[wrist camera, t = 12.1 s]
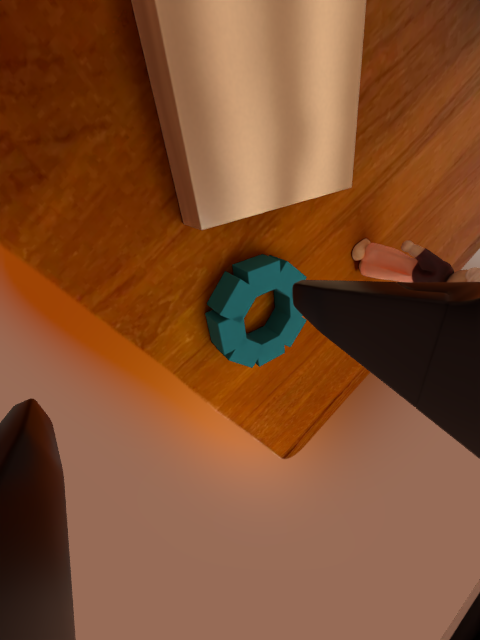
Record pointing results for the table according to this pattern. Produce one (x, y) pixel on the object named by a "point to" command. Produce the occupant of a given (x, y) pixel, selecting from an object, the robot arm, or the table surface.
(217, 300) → the ring
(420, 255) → the grandmother figurine
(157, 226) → the table surface
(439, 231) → the table surface
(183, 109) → the board
